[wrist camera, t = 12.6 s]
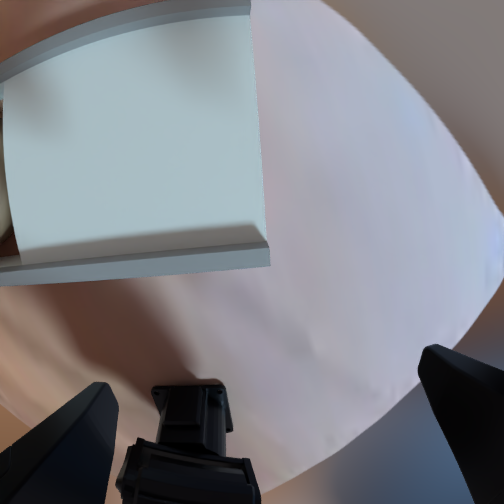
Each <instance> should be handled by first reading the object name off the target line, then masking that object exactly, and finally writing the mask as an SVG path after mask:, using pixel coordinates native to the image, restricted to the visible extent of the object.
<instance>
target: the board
mask: <svg viewBox="0 0 504 504" xmlns="http://www.w3.org/2000/svg"><path fill="white" fill-rule="evenodd" d="M250 10H251V0H168V1H163V2H157V3H153V4H148V5H144V6H139V7H135V8H131V9H127V10H124V11H120V12H117V13H113V14H110V15H107V16H103V17H100V18H97V19H94V20H91V21H89V22H86V23H83V24H80V25H78V26H75V27H73V28H70V29H68V30H65V31H63V32H60V33H58V34H56V35H53V36H51V37H49V38H47V39H45V40H42V41H40V42H38V43H36V44H34V45H32V46H30V47H28V48H26V49H24V50H23V51H21V52H19V53H17V54H15V55H13V56H12V57H10V58H8V59H6V60H5V61H3V62H1V63H0V100H2V99H3V147H4V162H5V173H6V182H7V190H8V198H9V204H10V210H11V216H12V221H13V226H14V231H15V236H16V241H17V245H18V249H19V253H20V255H14V256H7V257H0V286H18V285H35V284H51V283H67V282H82V281H96V280H111V279H124V278H137V277H150V276H163V275H175V274H188V273H199V272H211V271H222V270H234V269H245V268H256V267H266V266H270V250H269V246H268V243H267V239H266V223H265V207H264V192H263V177H262V162H261V148H260V134H259V121H258V108H257V95H256V82H255V70H254V58H253V47H252V36H251V24H250Z"/></svg>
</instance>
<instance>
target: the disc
mask: <svg viewBox="0 0 504 504" xmlns="http://www.w3.org/2000/svg"><path fill="white" fill-rule="evenodd" d="M13 231H14V226H13V221H12V216H11V210H10V204H9V198H8V190H7V182H6V173H5V162H4V147H3V119H2V118H0V243H2V242H3V241H5V240H6V239H7V238H8V237H9V236H10V235H11V234H12V233H13Z"/></svg>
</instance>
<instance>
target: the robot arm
mask: <svg viewBox="0 0 504 504" xmlns="http://www.w3.org/2000/svg"><path fill="white" fill-rule="evenodd" d="M418 375H419V378H420V380H421V383H422V385H423V388H424V390H425V393H426V395H427V398H428V400H429V403H430V406H431V408H432V411H433V413H434V415H435V417H436V419H437V421H438V423H439V425H440V427H441V429H442V431H443V433H444V435H445V438H446V440H447V442H448V444H449V446H450V448H451V450H452V452H453V454H454V456H455V459H456V461H457V463H458V465H459V468H460V470H461V472H462V474H463V476H464V479H465V481H466V483H467V486H468V488H469V491H470V493H471V496H472V498H473V501H474V503H475V504H504V371H502V370H500V369H498V368H495V367H493V366H490V365H488V364H485V363H483V362H480V361H478V360H475V359H473V358H470V357H468V356H466V355H463V354H461V353H458V352H456V351H453V350H451V349H448V348H446V347H443V346H441V345H439V344H433V345H429V346H426V347H425V348H424V349H423V352H422V355H421V359H420V362H419V365H418ZM218 390H222V391H218ZM156 391H157V392H156ZM151 394H152V396H153V399H154V401H155V404H156V406H157V409H158V411H159V413H160V416H161V417H160V422H159V427H158V432H157V437H156V442H155V443H153V442H149V441H146V440H144V439H142V438H139V437H138V438H137V441H136V444H133V446H128V449H127V453H126V457H125V460H124V463H123V466H122V468H121V470H120V472H119V475H118V477H117V479H116V484H115V486H116V488H117V489H118V490H119V492H120V493H121V499H123V501H122V504H261V494H260V490H259V487H258V484H257V481H256V478H255V474H254V471H253V468H252V465H251V461H250V458H242V459H241V458H232V457H226V433H229V432H232V431H233V423H232V418H231V413H230V408H229V403H228V397H227V392H226V388H225V386H223V385H204V386H155V387H153V388H152V391H151ZM118 412H119V406H118V402H117V400H116V398H115V396H114V394H113V392H112V389H111V387H110V386H109V384H108V383H106V382H93V383H92V384H91V385H89V386H88V387H87V388H85V389H84V390H83V391H81V392H80V393H79V394H78V395H76V396H75V397H74V398H72V399H71V400H70V401H68V402H67V403H66V404H65V405H63V406H62V407H61V408H59V409H58V410H57V411H55V412H54V413H53V414H51V415H50V416H49V417H47V418H46V419H45V420H44V421H42V422H41V423H40V424H38V425H37V426H36V427H34V428H33V429H32V430H30V431H29V432H28V433H26V434H25V435H24V436H22V437H21V438H20V439H18V440H17V441H16V442H15V443H13V444H12V446H9V447H8V448H6V449H5V450H4V451H3V452H1V453H0V504H104V503H105V498H106V492H107V486H108V481H109V476H110V471H111V466H112V461H113V456H114V448H115V439H116V429H117V420H118Z"/></svg>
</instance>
